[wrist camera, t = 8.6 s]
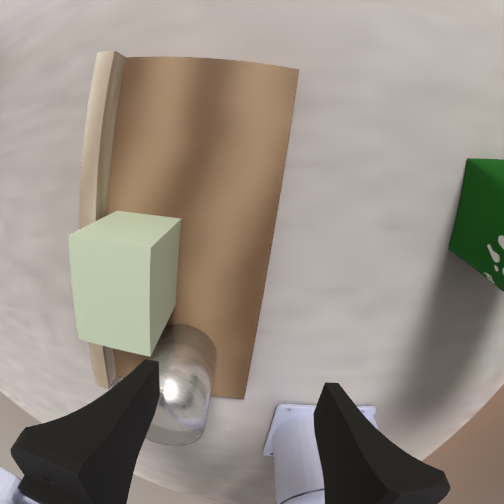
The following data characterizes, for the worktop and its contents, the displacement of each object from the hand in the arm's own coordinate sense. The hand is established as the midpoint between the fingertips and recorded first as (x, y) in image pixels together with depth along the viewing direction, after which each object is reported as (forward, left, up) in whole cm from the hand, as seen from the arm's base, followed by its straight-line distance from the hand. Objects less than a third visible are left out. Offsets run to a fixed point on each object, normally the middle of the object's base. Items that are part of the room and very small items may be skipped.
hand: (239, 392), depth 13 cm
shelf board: (+5, -3, -10) cm, 11 cm away
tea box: (+7, -2, -9) cm, 11 cm away
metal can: (+4, +5, -9) cm, 11 cm away
